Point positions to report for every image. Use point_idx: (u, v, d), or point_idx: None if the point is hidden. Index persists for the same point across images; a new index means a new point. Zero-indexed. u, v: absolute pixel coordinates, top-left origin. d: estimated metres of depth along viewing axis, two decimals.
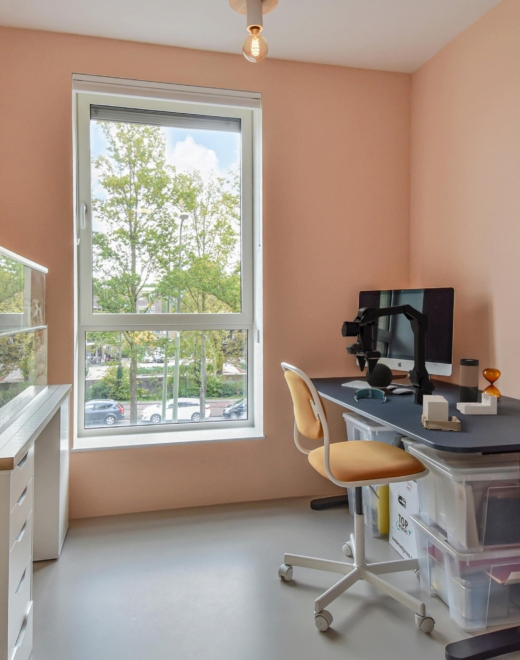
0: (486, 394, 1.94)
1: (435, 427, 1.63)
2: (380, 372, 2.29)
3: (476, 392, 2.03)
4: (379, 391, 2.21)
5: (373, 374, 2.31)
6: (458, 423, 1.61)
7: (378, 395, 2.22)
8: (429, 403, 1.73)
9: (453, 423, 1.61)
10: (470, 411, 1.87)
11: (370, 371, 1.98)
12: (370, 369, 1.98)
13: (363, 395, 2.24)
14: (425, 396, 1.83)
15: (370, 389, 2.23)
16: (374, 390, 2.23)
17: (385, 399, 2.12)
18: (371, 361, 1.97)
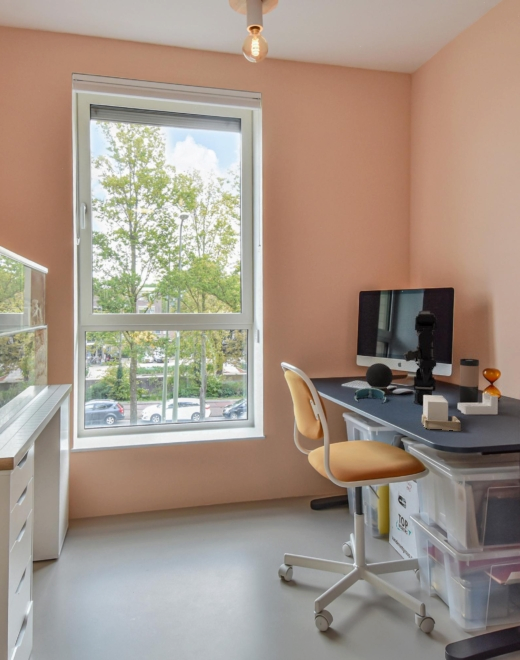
0: (487, 394, 1.94)
1: (435, 427, 1.63)
2: (380, 372, 2.29)
3: (476, 392, 2.03)
4: (379, 391, 2.21)
5: (373, 374, 2.31)
6: (458, 423, 1.61)
7: (378, 395, 2.21)
8: (429, 403, 1.73)
9: (453, 423, 1.61)
10: (471, 411, 1.88)
11: (426, 379, 1.91)
12: (425, 377, 1.91)
13: (363, 395, 2.24)
14: (425, 396, 1.83)
15: (370, 389, 2.23)
16: (374, 390, 2.22)
17: (385, 399, 2.12)
18: (426, 369, 1.90)
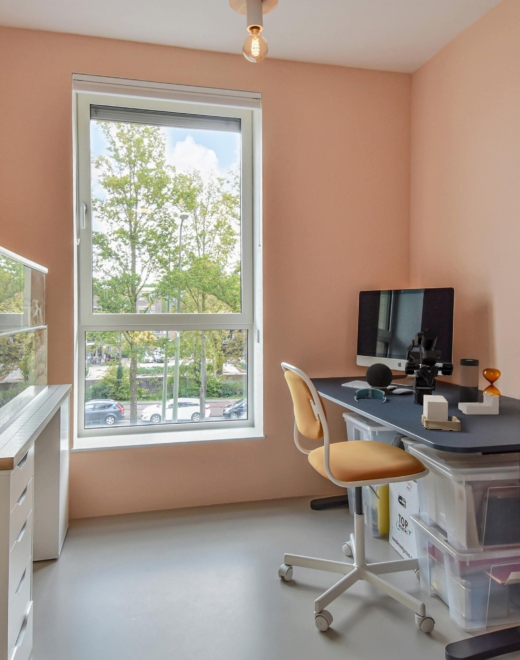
0: (488, 394, 1.94)
1: (435, 427, 1.63)
2: (380, 372, 2.29)
3: (476, 392, 2.03)
4: (379, 391, 2.21)
5: (373, 374, 2.31)
6: (458, 423, 1.61)
7: (378, 395, 2.21)
8: (428, 403, 1.73)
9: (453, 423, 1.61)
10: (472, 411, 1.87)
11: (431, 383, 1.92)
12: (432, 380, 1.92)
13: (363, 395, 2.23)
14: (425, 396, 1.83)
15: (370, 390, 2.23)
16: (374, 390, 2.22)
17: (385, 399, 2.12)
18: None
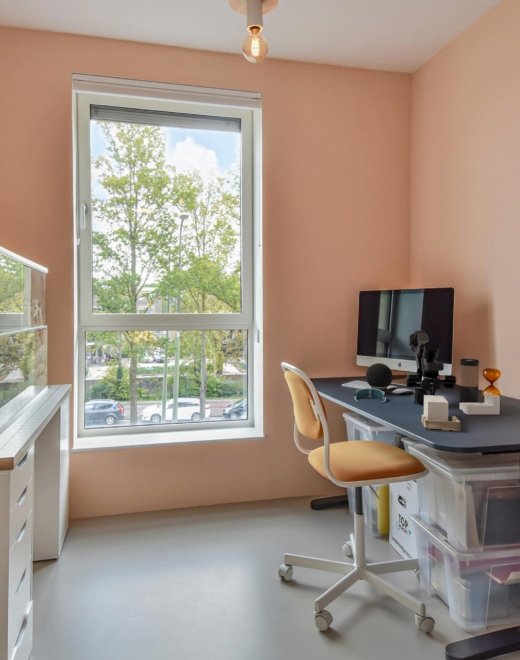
0: (489, 394, 1.94)
1: (435, 427, 1.63)
2: (380, 372, 2.29)
3: (476, 392, 2.03)
4: (379, 391, 2.21)
5: (373, 374, 2.31)
6: (458, 423, 1.61)
7: (378, 395, 2.21)
8: (429, 403, 1.72)
9: (453, 423, 1.61)
10: (473, 411, 1.87)
11: None
12: (434, 393, 1.86)
13: (363, 395, 2.23)
14: (426, 396, 1.82)
15: (370, 390, 2.22)
16: (374, 390, 2.22)
17: (385, 399, 2.12)
18: None
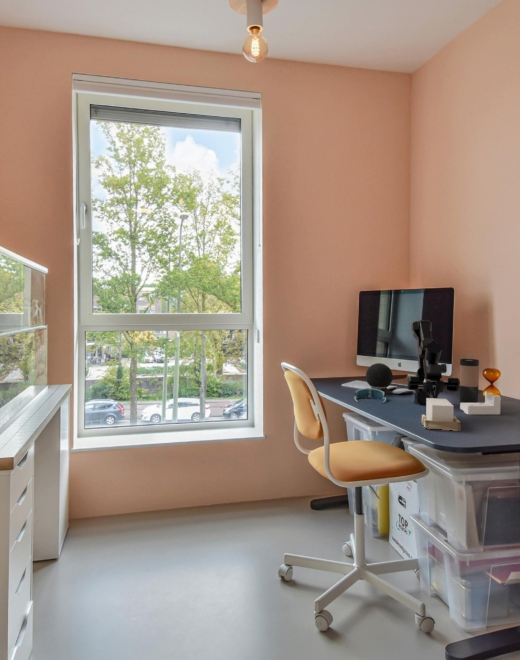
0: (489, 394, 1.94)
1: (435, 427, 1.63)
2: (380, 372, 2.29)
3: (476, 392, 2.03)
4: (379, 391, 2.20)
5: (373, 374, 2.31)
6: (458, 423, 1.61)
7: (378, 395, 2.21)
8: (433, 407, 1.65)
9: (453, 423, 1.61)
10: (473, 411, 1.87)
11: None
12: None
13: (363, 395, 2.23)
14: (428, 399, 1.76)
15: (370, 390, 2.22)
16: (374, 390, 2.22)
17: (385, 399, 2.12)
18: None
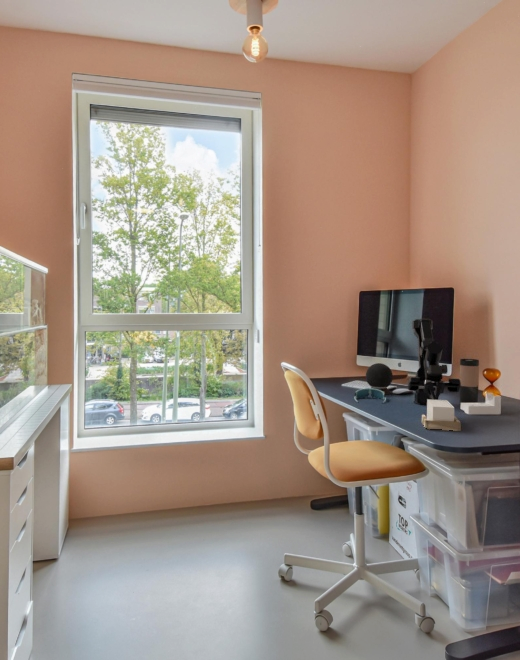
0: (490, 394, 1.94)
1: (435, 427, 1.63)
2: (380, 372, 2.29)
3: (476, 392, 2.03)
4: (379, 391, 2.20)
5: (373, 374, 2.31)
6: (458, 423, 1.61)
7: (378, 395, 2.21)
8: (434, 408, 1.64)
9: (453, 423, 1.61)
10: (474, 411, 1.87)
11: None
12: (437, 397, 1.78)
13: (363, 395, 2.23)
14: (429, 401, 1.74)
15: (370, 390, 2.22)
16: (374, 390, 2.22)
17: (385, 399, 2.12)
18: None
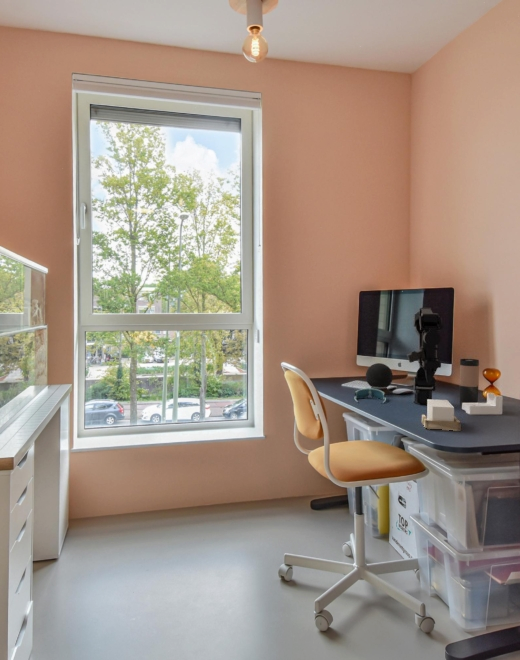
0: (491, 394, 1.94)
1: (435, 427, 1.63)
2: (380, 372, 2.29)
3: (476, 392, 2.03)
4: (379, 391, 2.20)
5: (373, 374, 2.31)
6: (458, 423, 1.61)
7: (378, 396, 2.21)
8: (433, 408, 1.64)
9: (453, 423, 1.61)
10: (475, 411, 1.87)
11: (429, 380, 1.88)
12: (428, 378, 1.88)
13: (363, 395, 2.23)
14: (429, 400, 1.74)
15: (370, 390, 2.22)
16: (374, 390, 2.22)
17: (385, 399, 2.11)
18: (429, 369, 1.88)
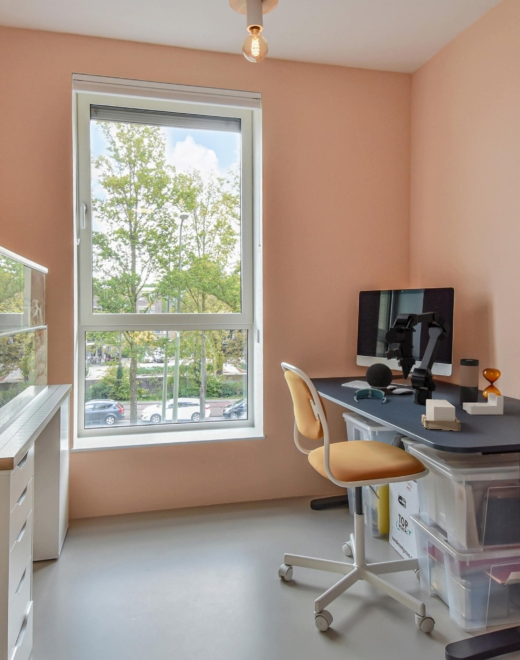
0: (492, 394, 1.94)
1: (435, 427, 1.63)
2: (380, 372, 2.29)
3: (476, 392, 2.03)
4: (379, 391, 2.20)
5: (373, 374, 2.31)
6: (458, 423, 1.61)
7: (378, 396, 2.21)
8: (435, 408, 1.63)
9: (453, 423, 1.61)
10: (476, 411, 1.87)
11: (406, 377, 1.99)
12: (405, 374, 1.99)
13: (363, 395, 2.23)
14: (429, 401, 1.74)
15: (370, 390, 2.22)
16: (374, 390, 2.21)
17: (385, 399, 2.11)
18: (406, 366, 1.99)
